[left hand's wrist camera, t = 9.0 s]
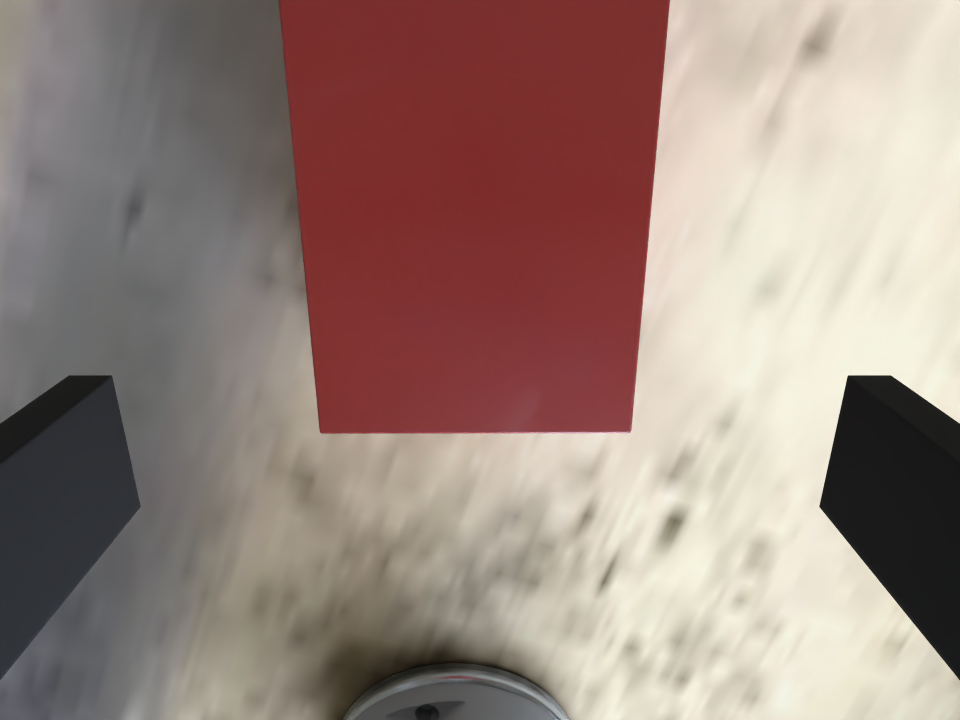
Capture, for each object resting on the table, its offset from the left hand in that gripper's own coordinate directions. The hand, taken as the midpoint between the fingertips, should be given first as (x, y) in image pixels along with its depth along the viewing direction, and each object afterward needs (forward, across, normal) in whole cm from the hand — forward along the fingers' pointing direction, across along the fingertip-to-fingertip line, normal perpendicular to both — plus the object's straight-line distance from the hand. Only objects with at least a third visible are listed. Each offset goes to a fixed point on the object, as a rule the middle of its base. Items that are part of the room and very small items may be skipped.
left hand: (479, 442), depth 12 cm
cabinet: (+20, 0, -4) cm, 20 cm away
